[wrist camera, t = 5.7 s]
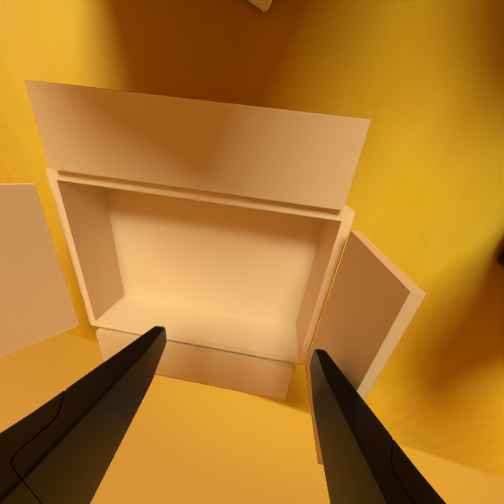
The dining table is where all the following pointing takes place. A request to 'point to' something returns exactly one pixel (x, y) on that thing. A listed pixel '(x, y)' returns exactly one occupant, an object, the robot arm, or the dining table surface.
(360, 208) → the dining table surface
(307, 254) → the carton
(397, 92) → the dining table surface
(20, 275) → the flap
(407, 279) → the flap
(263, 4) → the tea box
